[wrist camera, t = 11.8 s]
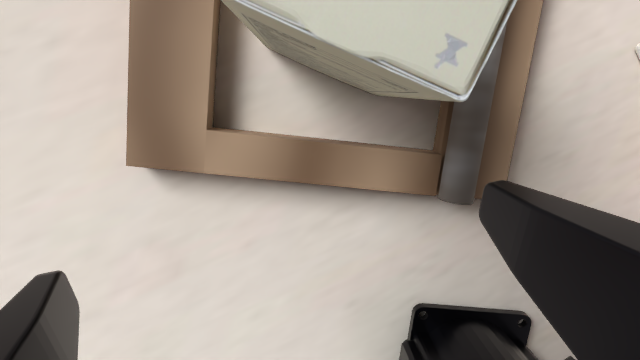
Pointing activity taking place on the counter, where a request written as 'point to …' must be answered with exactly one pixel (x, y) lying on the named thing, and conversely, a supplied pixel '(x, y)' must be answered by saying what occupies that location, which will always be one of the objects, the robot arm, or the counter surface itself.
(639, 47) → the ink cartridge box
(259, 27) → the skincare box
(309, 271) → the counter surface
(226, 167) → the shelf frame
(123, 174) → the counter surface
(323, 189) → the counter surface
